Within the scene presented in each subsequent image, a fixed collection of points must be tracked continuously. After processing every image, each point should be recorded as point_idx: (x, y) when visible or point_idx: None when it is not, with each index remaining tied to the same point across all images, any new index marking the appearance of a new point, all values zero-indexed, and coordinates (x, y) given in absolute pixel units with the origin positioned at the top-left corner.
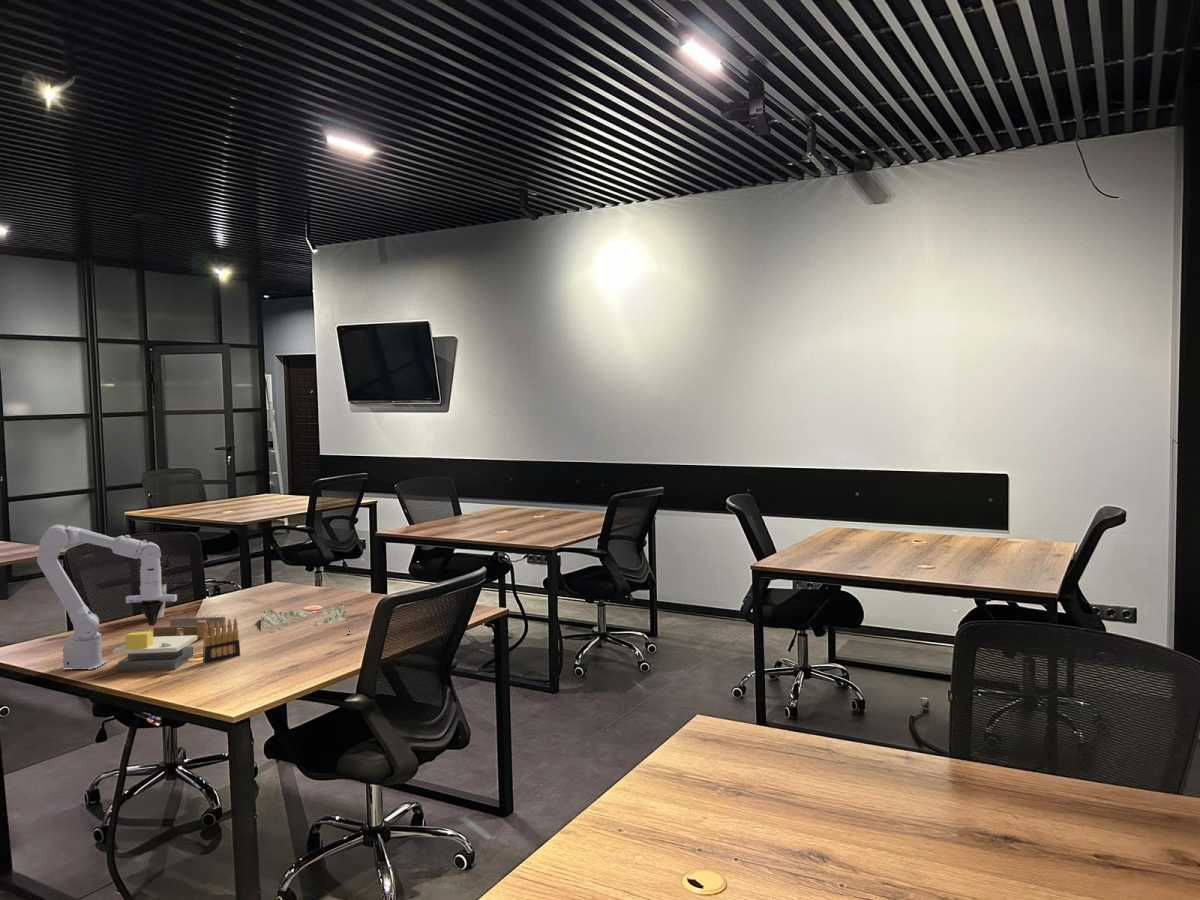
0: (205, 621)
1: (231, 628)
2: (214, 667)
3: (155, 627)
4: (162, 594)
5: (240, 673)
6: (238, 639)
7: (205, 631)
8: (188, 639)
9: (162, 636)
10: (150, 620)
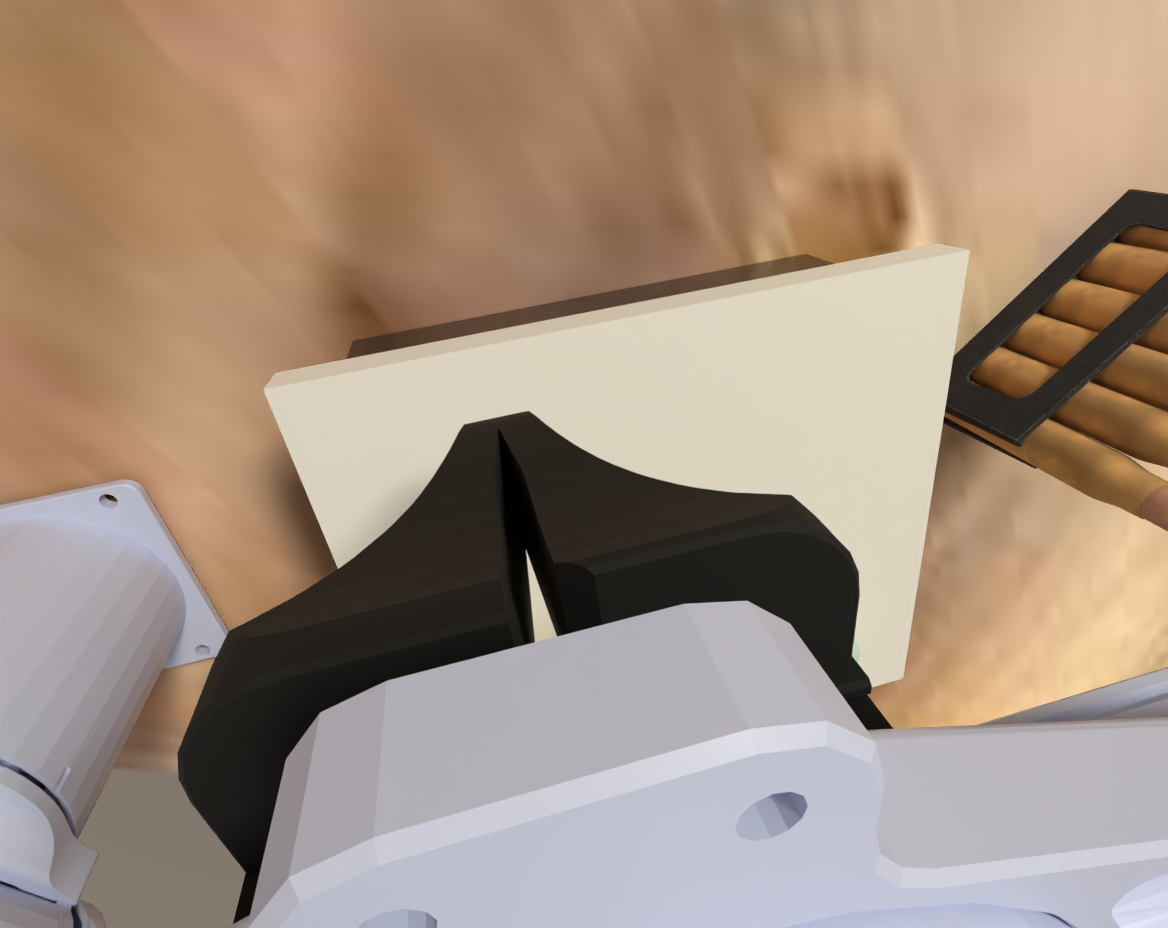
0: None
1: None
2: (999, 490)
3: None
4: (1103, 877)
5: (1127, 556)
6: None
7: (1165, 526)
8: (923, 443)
9: (582, 329)
10: (527, 565)
